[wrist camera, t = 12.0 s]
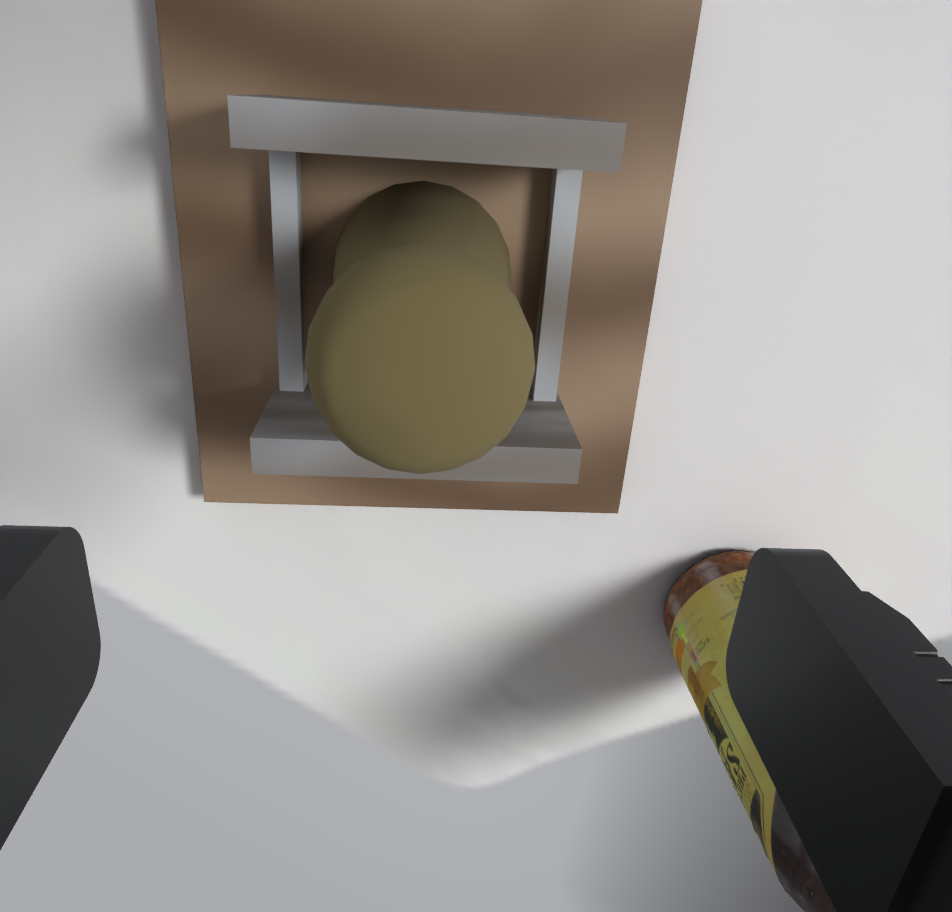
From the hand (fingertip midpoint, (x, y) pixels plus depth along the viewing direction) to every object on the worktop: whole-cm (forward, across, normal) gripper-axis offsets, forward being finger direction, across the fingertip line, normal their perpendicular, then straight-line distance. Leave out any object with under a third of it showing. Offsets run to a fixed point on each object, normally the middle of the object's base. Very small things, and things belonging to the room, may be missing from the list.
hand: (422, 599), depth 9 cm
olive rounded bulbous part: (+19, 0, 0) cm, 19 cm away
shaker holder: (+19, 0, 0) cm, 19 cm away
